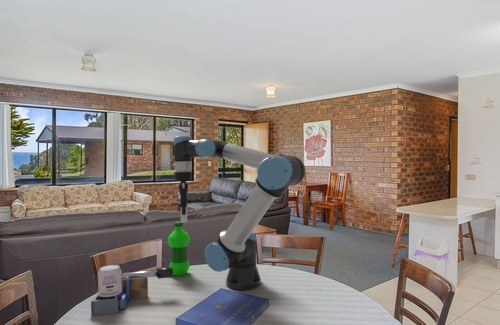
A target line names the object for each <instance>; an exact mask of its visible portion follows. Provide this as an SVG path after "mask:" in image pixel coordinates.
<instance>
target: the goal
mask: <svg viewBox="0 0 500 325" xmlns="http://www.w3.org/2000/svg"><path fill="white" fill-rule="evenodd" d="M123 292H124V287H122V294H123ZM90 313H91V316H99V315H100V316H101V315H110V314H118V313H119V308H118V298H113V299H102V300H98V291H97V292H96V293H95V295H94V297H93V298H92V299H91V301H90Z"/></svg>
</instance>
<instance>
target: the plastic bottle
mask: <svg viewBox="0 0 500 325" xmlns="http://www.w3.org/2000/svg"><path fill="white" fill-rule="evenodd" d="M183 226H184V222H182V223H181V221H174V222H173V227H174V228H175V229H174V230H173V231H172V232H171V233H170V234H169V236H168V238H167V244H168V246H169V247H170V263H169V266H168V268H171V267H173V276H175V275H176V277H181V275H182V276H184V274H186V273H187V272H188V271H189V269H190V265H191V264H190V261H189V259H188V245H189V243H190V239H191V237H190V234H189V233H188V232H187V231H185V230H184V229H183Z"/></svg>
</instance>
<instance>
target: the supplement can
mask: <svg viewBox="0 0 500 325" xmlns="http://www.w3.org/2000/svg"><path fill="white" fill-rule="evenodd" d="M122 273H123V272H122V269H121V267H120V265H118V264H109V265H108V264H107V265H103V266H101V267H99V270H98V271H97V292H98V300H102V299H113V298H118V309H120V298H121V296H122Z"/></svg>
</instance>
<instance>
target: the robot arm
mask: <svg viewBox="0 0 500 325" xmlns="http://www.w3.org/2000/svg"><path fill="white" fill-rule="evenodd" d="M173 158H174V159H173V160H174V161H173V162H174V163H173V164H172V166H173V167H174V168H173V169H174V171H175V172H174V180H175V181H180V183H178V189H179V195H180V204H178V208H180V222H181V223H182V222H183V223H188V203H189V199H188V197H187V196H188V189H189V184H188V183H187V182H188V181H191V180H193V175H192V174H193V172H192V171H193V170H192V169H193V164H192V163H193V162H192V160H193V158H220V159H222V160H226V161H229V162H233V163H237V164H240V165H242V166H246V167H249V168H253V169H256V174H257V176H256V178H255V180H254V182H255V186H254V188H253V190H252V192H251V193H250V195H249V196H248V198H247V199H246V201H245V202H244V203H243V205H242V207H241V208H240V210H239V211H238V212H237V215H236V216H235V217H234V219H233V221H232V222H231V223H230V225H229V226H228V228H227V229H225V230H222V231H221V232H219V235H218V236H217V237H216V240H214V241H213V242H210V243H208V244H207V246H205V249H204V258H205V262H206V264H207V266H208V267H209V268H210V269H211V270H213V271H214V272H217V273H219V272H224V271H227V270H228V273H227V275H226V280H225V281H226V282H225V285H226V286H227V287H228V288H230V289H231V290H237V291H238V290H239V291H246V290H247V291H248V290H253V289H256V288H258V287H260V286H261V283H262V281H261V280H262V278H261V275H260V273H259V270H258V267H257V236H256V234H255V232H254V230H255V229H256V227H257V226H258V224H259V223H260V222H261V220H262V219H263V217H264V216H265V214H266V213H267V212H268V210H269V208H270V207H271V206H272V204H273V203H274V201H275V200H276V199H281V198H282V197H283V196H284V194H285V193H286V192H287V190H288V188H289V187H292V186H293V187H294V186H296V185H298V184H301V182H302V181H303V180H304V178H305V176H306V166H305V163H304V162H303V161H302V160H301V159H300V158H299V157H298V156H296V155H295V156H294V155H287V154H286V155H285V154H281V153H279V154H277V155H275V154H272V153H268V152H265V151H260V150H256V149H253V148H248V147H245V146H241V145H237V144H235V143H230V142H229V141H226V140H212V139H206V138H202V139H192V138H191V136H190V135H176V136H175V137H174V138H173Z"/></svg>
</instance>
